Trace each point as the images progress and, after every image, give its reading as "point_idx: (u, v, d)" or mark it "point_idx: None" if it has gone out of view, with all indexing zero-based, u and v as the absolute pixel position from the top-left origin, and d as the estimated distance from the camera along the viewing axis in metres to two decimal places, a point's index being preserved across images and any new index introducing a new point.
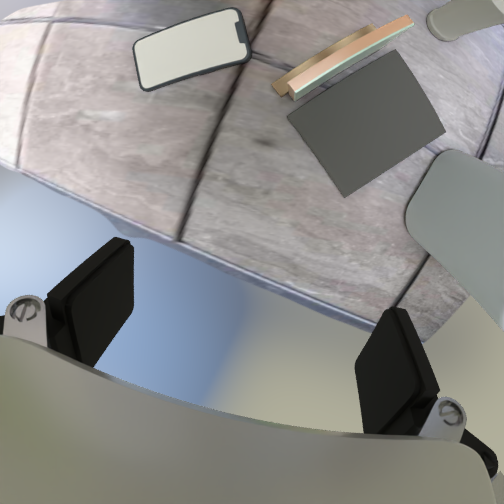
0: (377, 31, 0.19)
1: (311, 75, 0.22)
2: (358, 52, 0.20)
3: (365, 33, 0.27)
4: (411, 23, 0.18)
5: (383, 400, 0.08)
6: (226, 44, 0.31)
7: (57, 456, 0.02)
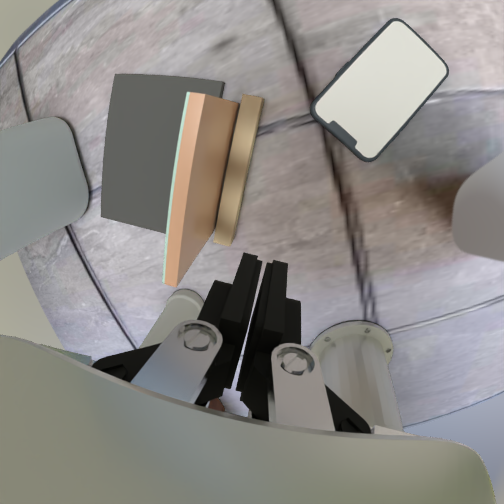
0: (178, 238, 0.20)
1: (189, 124, 0.17)
2: (172, 195, 0.19)
3: (225, 229, 0.32)
4: (165, 281, 0.22)
5: (247, 347, 0.09)
6: (346, 109, 0.26)
7: (57, 456, 0.02)
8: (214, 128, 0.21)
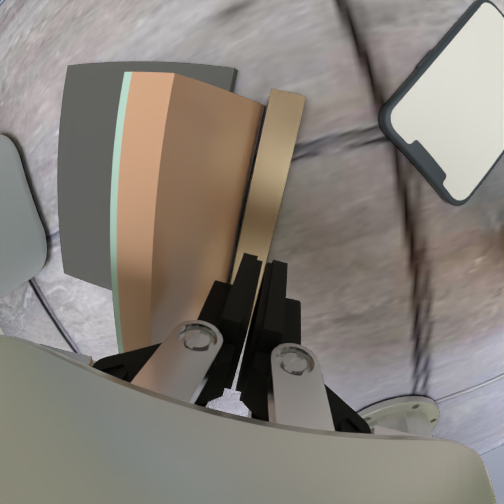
0: None
1: (132, 167, 0.06)
2: (120, 333, 0.08)
3: None
4: None
5: (247, 347, 0.09)
6: (434, 124, 0.15)
7: (57, 456, 0.02)
8: (214, 160, 0.10)
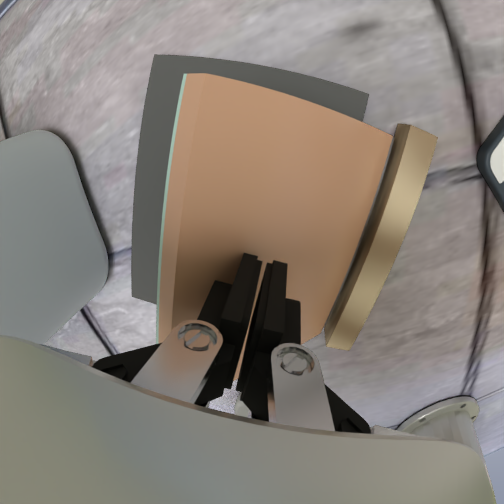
0: None
1: (179, 144, 0.08)
2: (159, 282, 0.10)
3: (349, 331, 0.20)
4: None
5: (247, 347, 0.09)
6: None
7: (57, 456, 0.02)
8: (291, 165, 0.10)
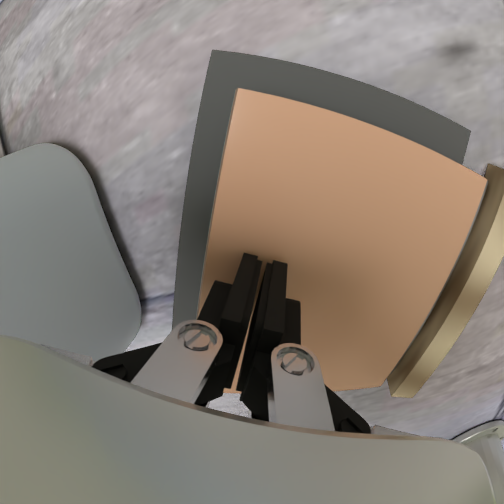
0: None
1: (224, 147, 0.10)
2: (203, 267, 0.12)
3: (417, 381, 0.16)
4: None
5: (247, 347, 0.09)
6: None
7: (57, 456, 0.02)
8: (340, 184, 0.10)
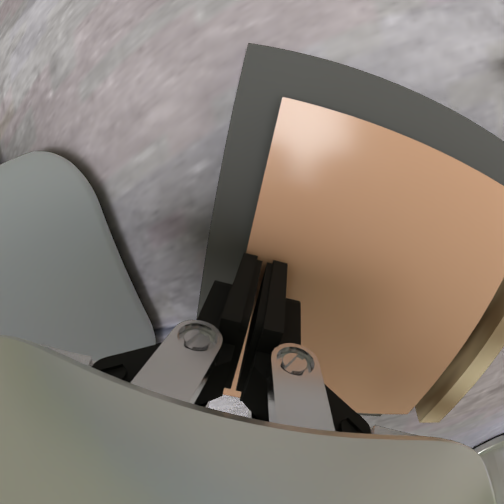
0: None
1: None
2: None
3: (445, 407, 0.14)
4: None
5: (247, 347, 0.09)
6: None
7: (57, 456, 0.02)
8: (382, 199, 0.09)
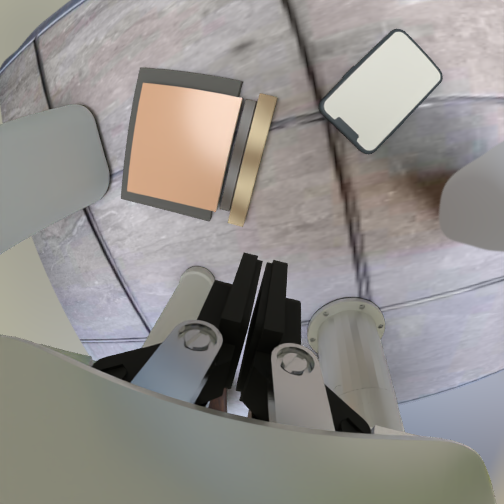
0: None
1: None
2: None
3: (239, 211, 0.36)
4: None
5: (247, 347, 0.09)
6: (350, 108, 0.30)
7: (57, 456, 0.02)
8: (170, 105, 0.30)
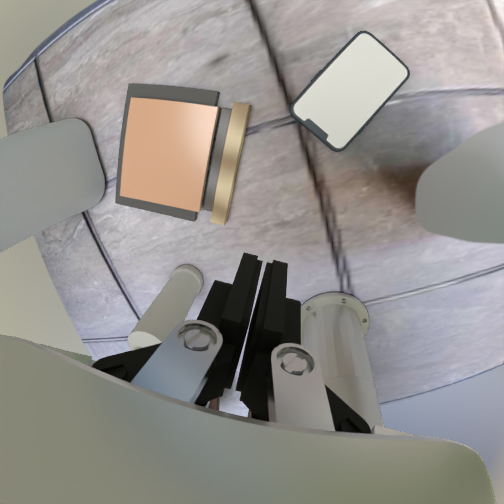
0: None
1: None
2: None
3: (220, 211, 0.39)
4: None
5: (247, 347, 0.09)
6: (318, 109, 0.33)
7: (57, 456, 0.02)
8: (155, 117, 0.34)
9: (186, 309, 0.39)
